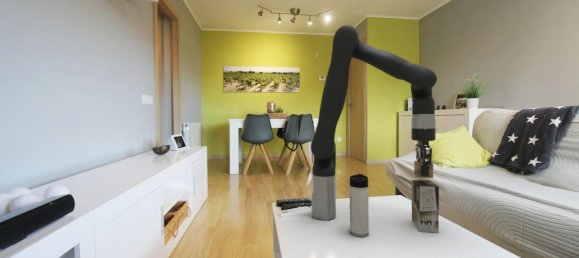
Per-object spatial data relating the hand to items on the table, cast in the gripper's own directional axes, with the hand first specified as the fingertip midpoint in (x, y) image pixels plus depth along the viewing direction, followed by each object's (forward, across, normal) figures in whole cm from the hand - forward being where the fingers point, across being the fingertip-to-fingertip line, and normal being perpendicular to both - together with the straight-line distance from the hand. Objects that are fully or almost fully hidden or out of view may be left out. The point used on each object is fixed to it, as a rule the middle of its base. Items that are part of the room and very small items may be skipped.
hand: (423, 174), depth 85 cm
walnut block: (+1, 0, 0) cm, 1 cm away
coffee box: (+19, 0, 0) cm, 19 cm away
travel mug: (+19, +11, -22) cm, 31 cm away
